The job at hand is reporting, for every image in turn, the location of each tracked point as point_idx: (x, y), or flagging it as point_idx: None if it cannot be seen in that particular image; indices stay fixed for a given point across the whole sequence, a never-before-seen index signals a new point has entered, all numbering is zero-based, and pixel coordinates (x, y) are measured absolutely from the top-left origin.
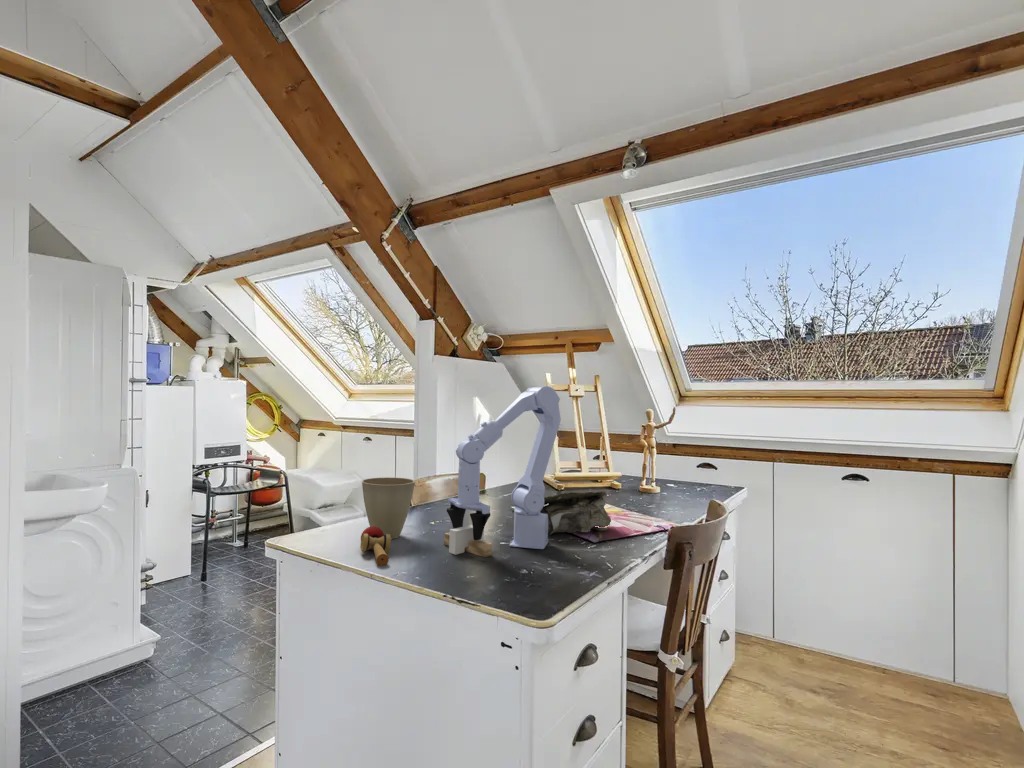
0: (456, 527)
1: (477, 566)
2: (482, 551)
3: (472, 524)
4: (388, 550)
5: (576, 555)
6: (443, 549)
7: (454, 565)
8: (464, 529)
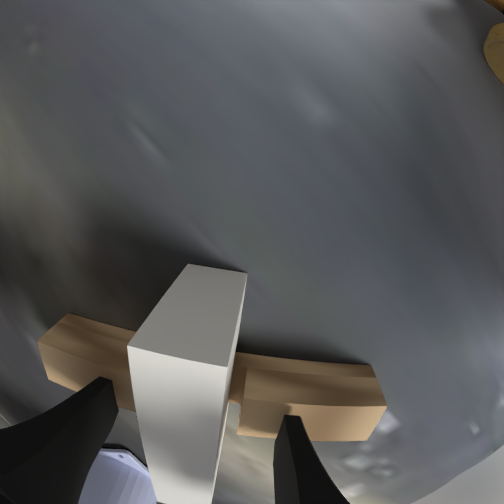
0: (286, 456)
1: (9, 188)
2: (68, 328)
3: (52, 436)
4: (484, 45)
5: (7, 422)
6: (320, 302)
7: (68, 116)
8: (137, 418)
